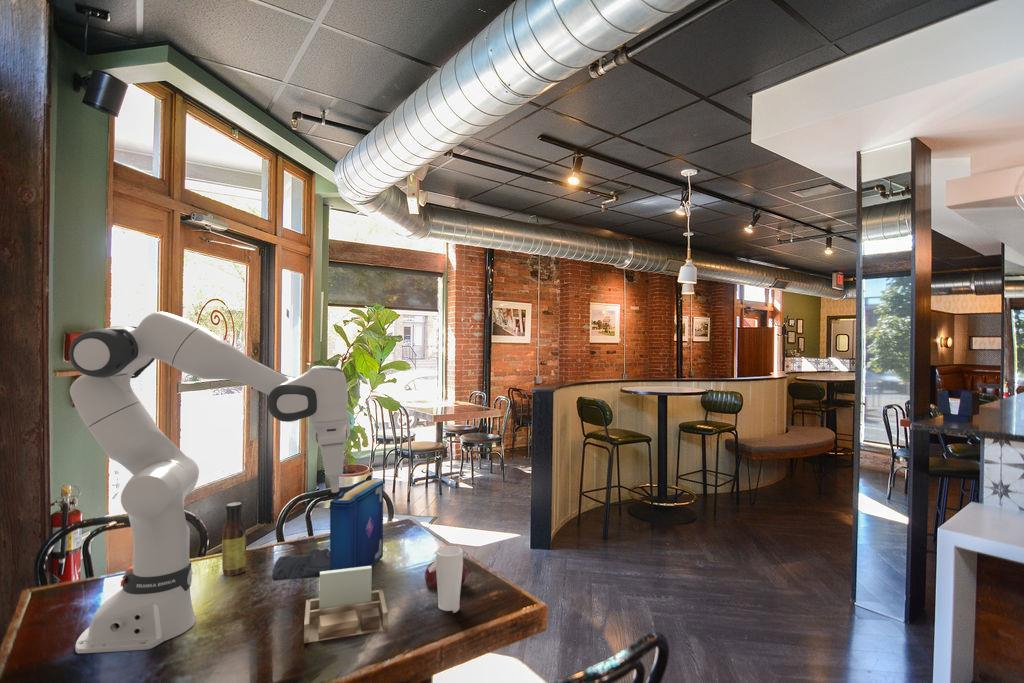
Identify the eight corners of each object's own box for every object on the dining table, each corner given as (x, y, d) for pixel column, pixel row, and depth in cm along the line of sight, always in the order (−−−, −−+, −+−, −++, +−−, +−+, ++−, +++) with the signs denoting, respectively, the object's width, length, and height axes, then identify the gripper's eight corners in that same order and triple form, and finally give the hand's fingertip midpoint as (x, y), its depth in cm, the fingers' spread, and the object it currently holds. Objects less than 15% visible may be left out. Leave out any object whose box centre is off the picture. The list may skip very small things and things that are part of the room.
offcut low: (318, 639, 118) (318, 632, 118) (318, 628, 122) (318, 621, 122) (355, 633, 120) (355, 626, 120) (354, 622, 125) (354, 616, 125)
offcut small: (361, 631, 121) (361, 618, 121) (360, 622, 125) (360, 610, 125) (379, 628, 123) (379, 615, 123) (377, 620, 126) (378, 607, 126)
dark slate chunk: (277, 562, 164) (278, 546, 164) (352, 555, 169) (352, 540, 169) (269, 583, 149) (269, 566, 149) (350, 575, 155) (350, 559, 155)
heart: (419, 577, 151) (426, 597, 142) (421, 552, 150) (428, 570, 141) (460, 573, 155) (469, 592, 146) (462, 548, 154) (471, 565, 145)
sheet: (318, 620, 126) (319, 574, 126) (319, 617, 127) (319, 571, 127) (371, 613, 130) (371, 568, 130) (370, 610, 131) (371, 565, 131)
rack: (303, 648, 116) (304, 624, 116) (305, 621, 128) (306, 599, 128) (387, 634, 122) (387, 612, 122) (382, 610, 133) (382, 589, 134)
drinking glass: (451, 601, 139) (452, 543, 139) (467, 610, 134) (468, 551, 134) (429, 609, 134) (430, 550, 134) (446, 619, 129) (447, 558, 129)
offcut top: (320, 633, 117) (320, 626, 117) (319, 622, 122) (319, 616, 122) (357, 626, 121) (358, 619, 121) (355, 616, 125) (355, 609, 125)
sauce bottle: (250, 571, 156) (251, 503, 156) (229, 578, 150) (230, 508, 150) (237, 565, 159) (239, 499, 159) (216, 573, 154) (218, 504, 154)
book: (348, 590, 144) (350, 498, 145) (325, 587, 146) (327, 496, 146) (383, 559, 165) (384, 479, 166) (362, 557, 167) (364, 477, 167)
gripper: (317, 425, 139) (321, 477, 139) (317, 439, 120) (321, 500, 120) (343, 423, 141) (346, 474, 142) (346, 436, 122) (350, 495, 122)
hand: (334, 486), depth 131 cm, fingers open, 8 cm apart
